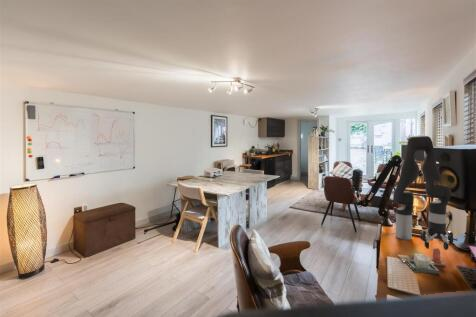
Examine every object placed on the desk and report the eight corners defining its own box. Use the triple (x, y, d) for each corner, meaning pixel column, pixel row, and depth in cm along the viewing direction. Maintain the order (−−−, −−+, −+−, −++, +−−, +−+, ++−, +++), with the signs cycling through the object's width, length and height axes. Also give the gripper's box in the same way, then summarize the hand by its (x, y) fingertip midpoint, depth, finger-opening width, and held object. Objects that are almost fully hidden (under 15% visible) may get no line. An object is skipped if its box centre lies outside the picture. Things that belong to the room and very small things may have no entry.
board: (397, 256, 136) (397, 254, 136) (437, 259, 131) (437, 258, 131) (402, 262, 129) (403, 260, 129) (445, 266, 124) (445, 264, 124)
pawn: (430, 258, 131) (430, 246, 130) (438, 259, 130) (438, 246, 129) (434, 262, 127) (434, 249, 126) (442, 262, 126) (443, 249, 125)
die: (413, 260, 127) (414, 253, 126) (424, 261, 126) (425, 254, 124) (417, 267, 123) (418, 259, 121) (428, 268, 121) (430, 261, 119)
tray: (406, 263, 129) (406, 259, 128) (429, 265, 126) (429, 261, 126) (414, 271, 120) (414, 268, 120) (439, 274, 117) (439, 270, 117)
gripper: (448, 219, 129) (447, 246, 130) (418, 217, 132) (417, 244, 134) (457, 223, 121) (455, 253, 123) (425, 222, 125) (424, 250, 126)
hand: (436, 248), depth 128 cm, fingers open, 8 cm apart
